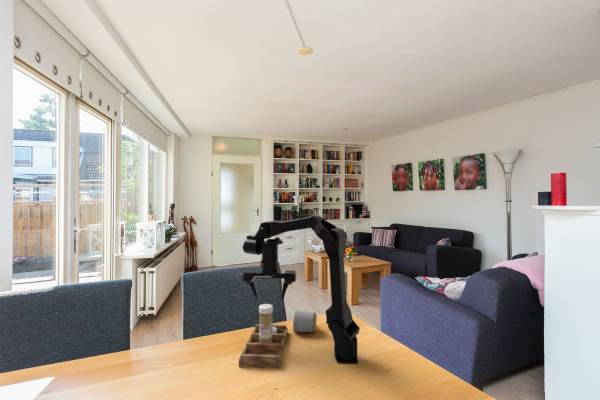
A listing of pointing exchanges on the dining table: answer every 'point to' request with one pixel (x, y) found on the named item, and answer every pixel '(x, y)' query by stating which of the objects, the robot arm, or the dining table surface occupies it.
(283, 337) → the rack
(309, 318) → the ceramic mug
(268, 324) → the sprinkles bottle
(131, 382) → the dining table surface
